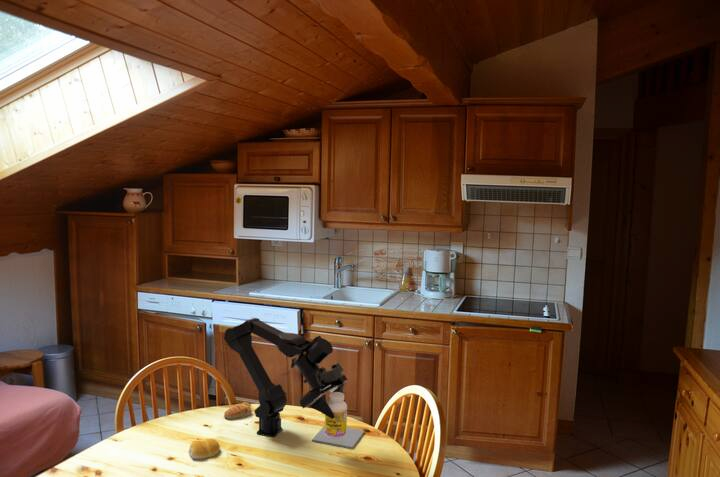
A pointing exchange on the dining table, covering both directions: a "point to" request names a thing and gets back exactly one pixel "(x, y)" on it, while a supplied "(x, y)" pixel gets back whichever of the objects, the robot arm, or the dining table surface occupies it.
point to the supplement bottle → (336, 417)
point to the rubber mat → (346, 442)
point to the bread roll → (204, 448)
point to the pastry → (238, 411)
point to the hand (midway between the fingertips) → (339, 413)
